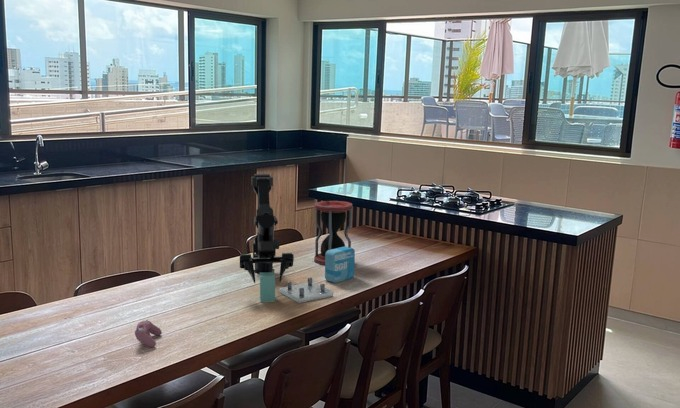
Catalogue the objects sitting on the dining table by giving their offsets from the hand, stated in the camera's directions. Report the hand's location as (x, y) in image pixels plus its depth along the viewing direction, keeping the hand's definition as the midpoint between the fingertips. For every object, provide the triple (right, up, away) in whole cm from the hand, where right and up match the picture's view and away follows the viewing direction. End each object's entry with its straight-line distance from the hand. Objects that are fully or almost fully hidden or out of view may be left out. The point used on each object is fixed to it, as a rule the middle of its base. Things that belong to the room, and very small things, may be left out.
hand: (267, 282), depth 209 cm
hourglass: (+22, +2, +53) cm, 57 cm away
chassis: (+13, -5, +9) cm, 16 cm away
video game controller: (-30, -13, -34) cm, 47 cm away
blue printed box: (+25, -3, +27) cm, 37 cm away
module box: (0, -6, +3) cm, 7 cm away
